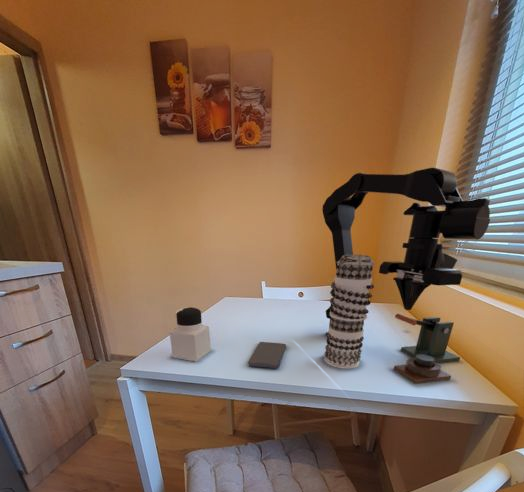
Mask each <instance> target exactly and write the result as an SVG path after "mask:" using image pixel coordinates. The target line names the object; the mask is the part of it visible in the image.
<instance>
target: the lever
mask: <svg viewBox="0 0 524 492" xmlns="http://www.w3.org/2000/svg"><path fill="white" fill-rule="evenodd" d="M394 316H395V317H394V318H395V319H397V320H400V321H401V322H404V323H407V324H409V325H411V326H420V327H421V326H425V327H428V328H427V329H428V330H430V331H432V332H433V331H434V328H435V324H436V323H437V322H436V321H432V320H431V322H430V323H427V322H423V320H419V319H417V318H416V319H415V318H411V317H408V316H405V315H403V314H400V313H396V314H395V315H394Z"/></svg>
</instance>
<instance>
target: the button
mask: <svg viewBox="0 0 524 492" xmlns="http://www.w3.org/2000/svg"><path fill="white" fill-rule="evenodd" d="M434 360H435V359H434V358H433V357H431V356H428V355H423V354H419V355H416V358H415V362H414V363H415V364H416V365H418V366H422V367H428V368H430V367H433V363H434Z"/></svg>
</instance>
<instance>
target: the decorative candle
mask: <svg viewBox="0 0 524 492" xmlns="http://www.w3.org/2000/svg"><path fill="white" fill-rule="evenodd" d="M336 263H337V270H336V269H335V271H336V272H335V275H334V281H333V282H331V284H330V288H331V290H330V292H329V294H330V296H331V298H330V300H329V304H330V305H329V307H328V308H329V309H330V311H331V312H330V316H331V323H330V322H329V323H330V325H328V333H327V332H326V333H327V335H326V337H327V339H326V340H325V341H326V345H325V347H324V349H325V351H324V361H325V363H326V364H328V365H330V366H331V367H334V368H339V369H353V368H356V367H358V366H359V365H360V361H361V355H362V352H363V351H362V349H361V348H362V347H363V345H364V344H363V341H364V340H365V339H364V326H365V320H367V319H368V314H369V309H367V306H370V305H371V304H372V302H371V301H370V300H369V299H371V298H373V294H371V293H370V292H369V291H371V290H372V289H375V285H374V284H373V283H372V282H373V277H372V275H373V272H374V271H373V268H374V265H376V263H375V262H373V260H372V257H370V256H369V255H366V254H353V255H344V256H342V257H341V259H340V260H339V261H338V262H336ZM336 263H335V264H336Z"/></svg>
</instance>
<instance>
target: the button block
mask: <svg viewBox="0 0 524 492" xmlns="http://www.w3.org/2000/svg"><path fill="white" fill-rule="evenodd" d="M415 358H416V357H409V358H407V360H406V362H405V364H398V365H393V371H395V372H397V373H398V374H400V375H401V376H403V378H405V379H407V380H408V381H410V382H411V383H413V384H414V385H418V384H419V385H420V384H427V383H433V382H435V383H436V382H443V381H450V380H451V377H452V375H451V374H449V373H447V372H445V371H443V370H442V366H441V364H440V363H437V362H435V361H434V363H433V367H430V368H428V367H422V366H418V365H416V364H415V363H414V362H415Z"/></svg>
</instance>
